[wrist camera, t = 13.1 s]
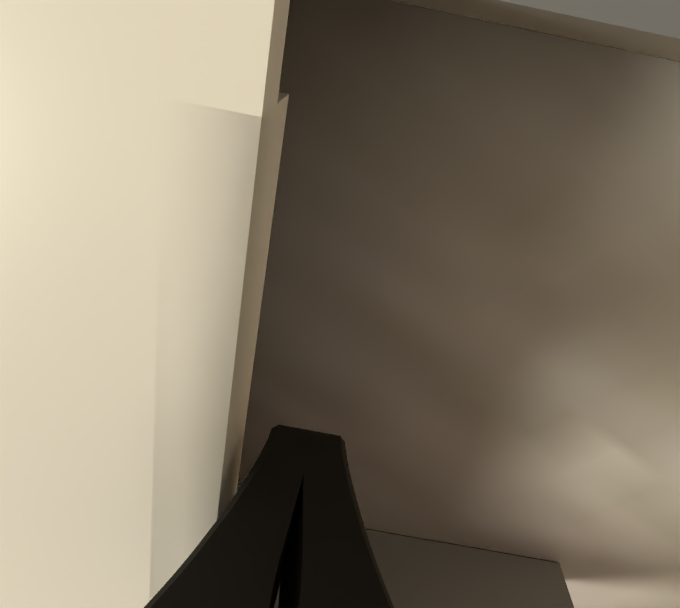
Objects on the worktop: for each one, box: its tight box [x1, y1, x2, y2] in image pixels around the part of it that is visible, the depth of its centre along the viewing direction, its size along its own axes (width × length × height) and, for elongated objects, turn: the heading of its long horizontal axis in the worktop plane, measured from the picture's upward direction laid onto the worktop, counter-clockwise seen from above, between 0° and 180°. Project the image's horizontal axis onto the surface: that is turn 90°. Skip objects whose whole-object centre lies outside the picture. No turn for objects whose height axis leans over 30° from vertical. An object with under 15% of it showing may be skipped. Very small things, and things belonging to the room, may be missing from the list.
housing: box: [274, 0, 680, 608], centre depth 12 cm, size 18×26×6 cm
